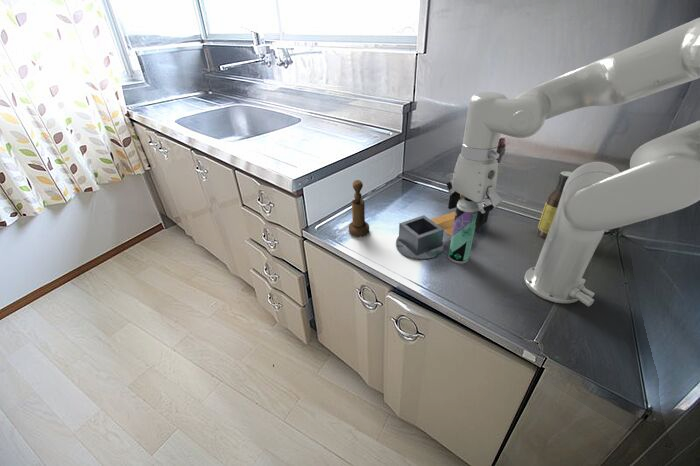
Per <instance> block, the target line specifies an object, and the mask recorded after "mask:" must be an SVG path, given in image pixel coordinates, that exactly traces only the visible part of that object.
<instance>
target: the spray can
mask: <svg viewBox="0 0 700 466" xmlns="http://www.w3.org/2000/svg"><path fill="white" fill-rule="evenodd" d="M478 211H480V209H479V206H478V203H476V202H474V201H472V200H470V199H469V198H467V197H464V198H463V199H460V200H459V201H458V203H457V207H456V209H455V213H456V214H455V220H454V225H453V231H452V236H450V244H449V250H448V259H449V260H450V261H451V262H453V263H456V264H465V263H467V262H468V261H469V259H470V254H471V249H472V244H473V241H474V236H475V231H476V227H477V226H476V225H475V222H476V218H477V213H478Z"/></svg>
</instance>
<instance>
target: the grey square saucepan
mask: <svg viewBox="0 0 700 466" xmlns="http://www.w3.org/2000/svg"><path fill="white" fill-rule="evenodd" d="M455 214H456V211H452V212H450V213H446V214H442V215H440V216H437V217H435V218H434V217H433V218H432V219H431V218H429V217H427V216H426V215H420V216H417V217H415V218H411V219H409V220H406V221H403V222H400V223H398V224H399V226H398V236H397V238H396V241H395V247H396V251H398V252H399V254H400V255H402V256H403V257H406V258H407V259H411V260H415V261H431V260H434V259H436V258H439V257H440V256H441V255H442V254H443V252H444V248H445V247H444V246H445V244H444V241H443V239H444V232H445V233H446V234H448V235H449V236H450V237H452V231H453V225H454V220H455Z"/></svg>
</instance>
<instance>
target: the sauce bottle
mask: <svg viewBox="0 0 700 466" xmlns="http://www.w3.org/2000/svg"><path fill="white" fill-rule="evenodd" d="M572 172H573V171H566V170H565V171H561V172H559V176H558V182H557V184H556V186H555V188H554V189H552V190H551V191H550V193H549V194H548V196H547V199H546V201H545V205H544V207H543V210H542V213H541V216H540V219H539V223H538V226H537V230H536V234H537V236H539V237H540V238H543V239H546V237H547V234H548V232H549V229H550V227H551V224H552V222H553V219H554V216H555V213H556V210H557V208H558V205H559V201H560V198H561V195H562V192H563V189H564V186H565V183H566V181H567V179H568V177H569V176H570V174H571V173H572Z"/></svg>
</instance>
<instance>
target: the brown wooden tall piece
mask: <svg viewBox="0 0 700 466" xmlns="http://www.w3.org/2000/svg"><path fill="white" fill-rule="evenodd" d="M363 186H364V185H363V182H362V180H360V179H357V180H354V181H353V182H352V188H353V190H354V191H355V192H354V193H353V197H354V199H352V201H351V211H352V212H351V213H352V217H351V218H352V222H350V223H349V224H348V233H349V235H350V236H352V237H354V238H364V237H366V236H368V235H369V233H370V224H369V223H368V222H366V218H365V217H366V215H365V213H366V211H365V200H364V199H362V193H361V191H362V188H363Z"/></svg>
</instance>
